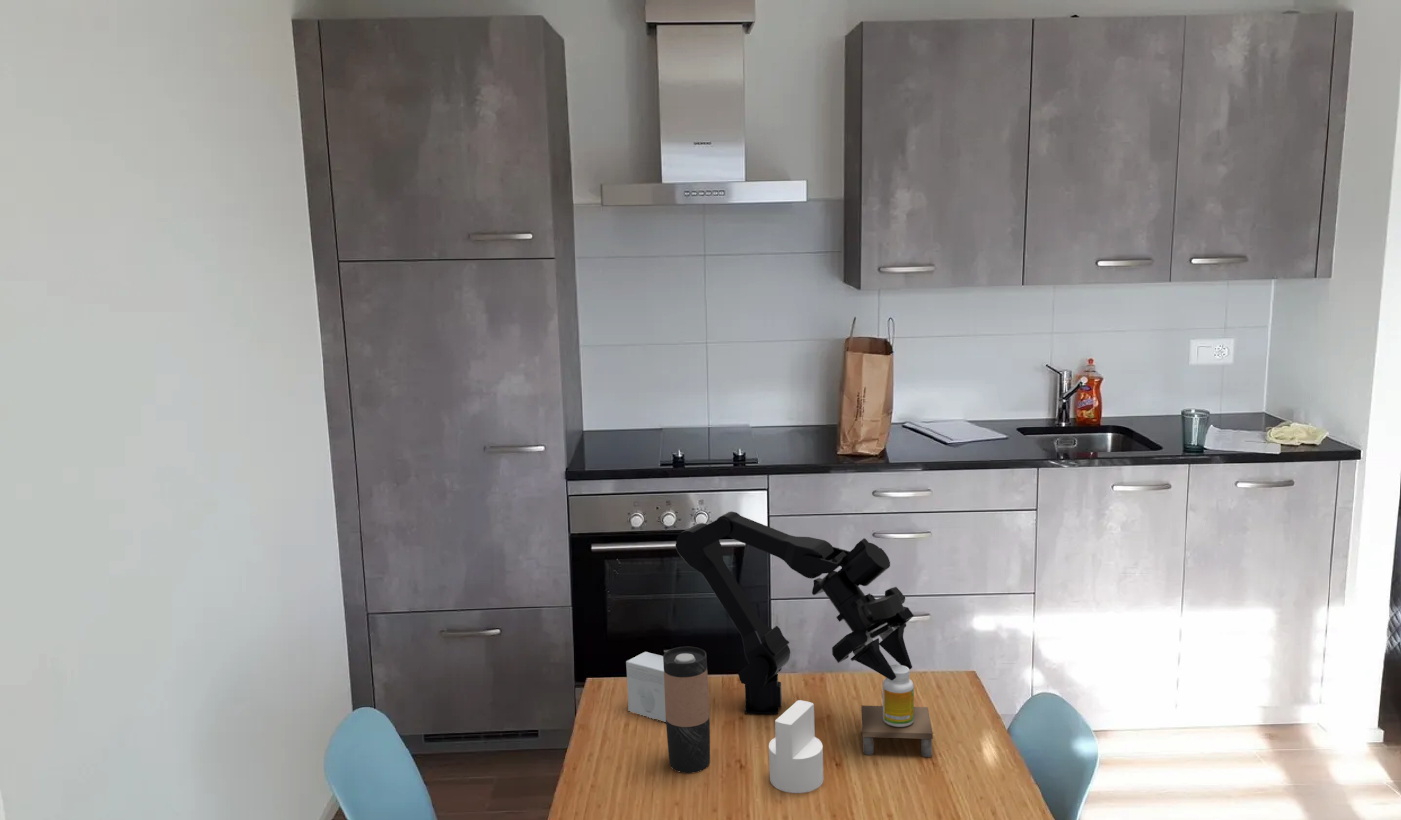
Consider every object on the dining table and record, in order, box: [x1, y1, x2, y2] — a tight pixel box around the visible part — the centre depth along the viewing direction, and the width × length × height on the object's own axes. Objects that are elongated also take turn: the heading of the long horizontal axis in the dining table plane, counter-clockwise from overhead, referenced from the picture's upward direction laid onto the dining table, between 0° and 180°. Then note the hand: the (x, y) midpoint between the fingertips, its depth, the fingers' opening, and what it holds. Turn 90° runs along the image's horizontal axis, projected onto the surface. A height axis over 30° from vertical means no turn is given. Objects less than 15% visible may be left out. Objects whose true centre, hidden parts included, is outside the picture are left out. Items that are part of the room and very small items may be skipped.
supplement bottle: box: [882, 664, 915, 727], centre depth 178 cm, size 5×5×10 cm
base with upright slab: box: [768, 699, 824, 794], centre depth 169 cm, size 9×9×12 cm
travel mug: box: [662, 646, 711, 774], centre depth 175 cm, size 8×8×20 cm
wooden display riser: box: [861, 705, 934, 758], centre depth 180 cm, size 12×10×4 cm
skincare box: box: [625, 651, 666, 723], centre depth 196 cm, size 10×6×10 cm, turn 54°
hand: (902, 674), depth 177 cm, fingers open, 5 cm apart
